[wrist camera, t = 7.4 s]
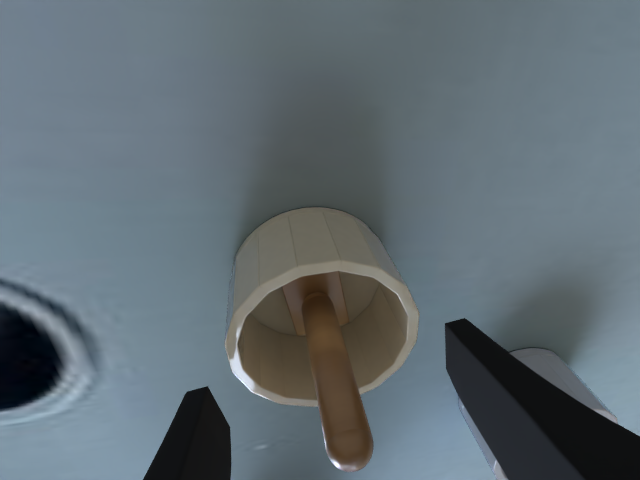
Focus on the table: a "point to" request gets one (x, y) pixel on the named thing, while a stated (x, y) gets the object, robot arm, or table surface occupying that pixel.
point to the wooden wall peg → (331, 367)
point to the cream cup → (274, 318)
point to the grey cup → (556, 374)
